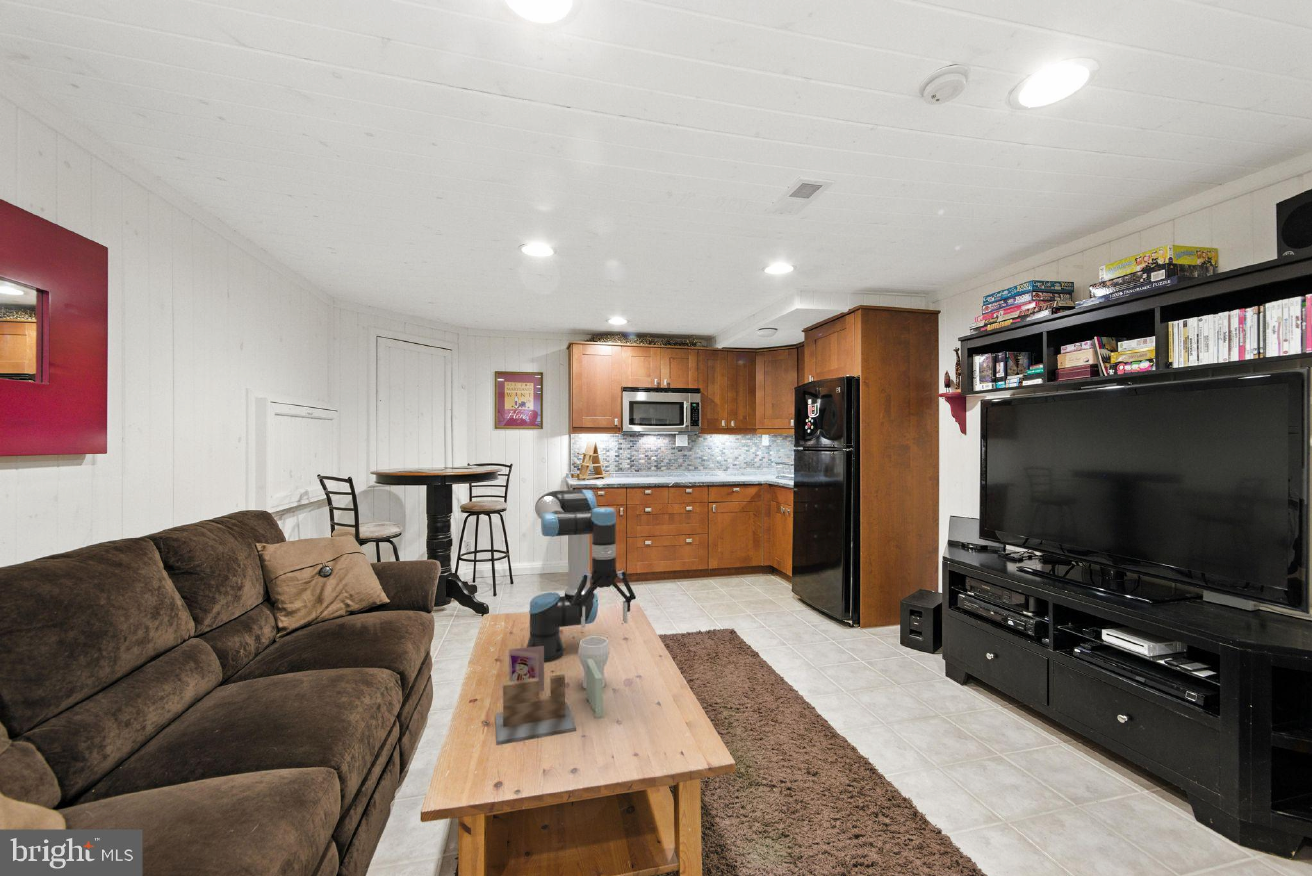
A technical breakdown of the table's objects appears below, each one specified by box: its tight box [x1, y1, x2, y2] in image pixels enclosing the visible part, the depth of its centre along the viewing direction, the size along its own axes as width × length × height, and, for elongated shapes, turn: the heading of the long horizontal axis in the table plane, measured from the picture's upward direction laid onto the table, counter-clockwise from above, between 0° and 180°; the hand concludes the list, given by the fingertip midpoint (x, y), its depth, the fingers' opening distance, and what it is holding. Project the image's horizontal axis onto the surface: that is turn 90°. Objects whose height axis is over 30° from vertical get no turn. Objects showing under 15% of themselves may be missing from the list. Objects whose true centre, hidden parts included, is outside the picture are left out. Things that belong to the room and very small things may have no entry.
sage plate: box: [585, 659, 603, 719], centre depth 168 cm, size 15×2×12 cm, turn 19°
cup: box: [577, 635, 610, 690], centre depth 182 cm, size 11×11×15 cm
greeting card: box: [508, 646, 545, 692], centre depth 176 cm, size 11×7×15 cm, turn 70°
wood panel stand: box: [494, 673, 577, 745], centre depth 157 cm, size 22×16×13 cm
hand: (604, 624), depth 166 cm, fingers open, 13 cm apart
